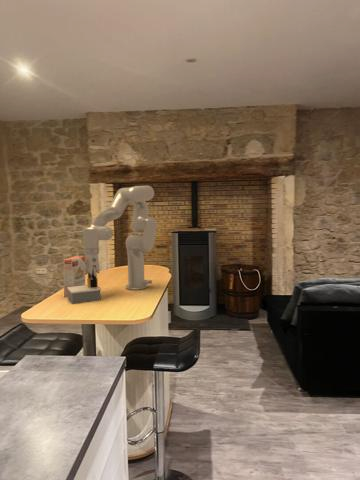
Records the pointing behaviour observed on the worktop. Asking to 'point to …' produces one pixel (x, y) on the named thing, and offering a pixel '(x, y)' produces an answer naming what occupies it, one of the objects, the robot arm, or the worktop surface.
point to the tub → (84, 296)
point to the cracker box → (73, 272)
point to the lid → (83, 288)
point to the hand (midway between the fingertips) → (92, 285)
